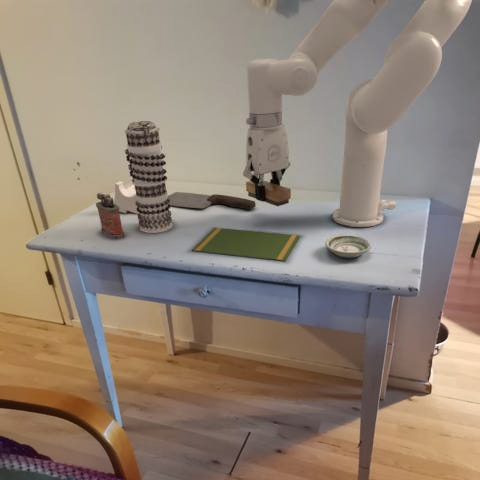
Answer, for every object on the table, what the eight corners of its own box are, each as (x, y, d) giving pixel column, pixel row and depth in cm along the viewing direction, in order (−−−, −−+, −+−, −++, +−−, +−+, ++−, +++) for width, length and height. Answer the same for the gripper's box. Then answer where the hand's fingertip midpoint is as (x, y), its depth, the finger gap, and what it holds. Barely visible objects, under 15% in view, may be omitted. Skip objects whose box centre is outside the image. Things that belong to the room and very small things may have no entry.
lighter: (127, 236, 112) (120, 196, 107) (115, 240, 110) (107, 200, 105) (110, 228, 117) (102, 190, 112) (98, 232, 115) (90, 193, 110)
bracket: (137, 216, 126) (140, 191, 122) (114, 209, 127) (115, 183, 122) (154, 201, 137) (157, 177, 132) (132, 195, 137) (134, 171, 133)
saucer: (376, 261, 94) (377, 250, 93) (331, 264, 94) (332, 254, 93) (361, 243, 103) (363, 233, 101) (320, 246, 102) (320, 236, 101)
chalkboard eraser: (258, 192, 120) (258, 178, 118) (290, 203, 111) (290, 188, 109) (246, 195, 118) (245, 181, 116) (278, 207, 109) (278, 192, 107)
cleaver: (260, 205, 127) (259, 198, 126) (244, 216, 120) (243, 209, 118) (174, 195, 139) (173, 188, 138) (155, 205, 132) (153, 197, 131)
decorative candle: (134, 224, 119) (116, 122, 105) (168, 218, 122) (155, 118, 108) (143, 236, 112) (124, 128, 98) (178, 229, 115) (165, 123, 101)
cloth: (300, 236, 107) (300, 235, 107) (285, 261, 96) (285, 260, 96) (214, 228, 114) (214, 227, 114) (191, 251, 103) (191, 249, 103)
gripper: (246, 128, 98) (250, 209, 108) (303, 116, 106) (302, 193, 115) (226, 124, 103) (232, 202, 113) (282, 113, 111) (283, 187, 121)
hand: (267, 197), depth 114 cm, fingers closed on chalkboard eraser, 4 cm apart
